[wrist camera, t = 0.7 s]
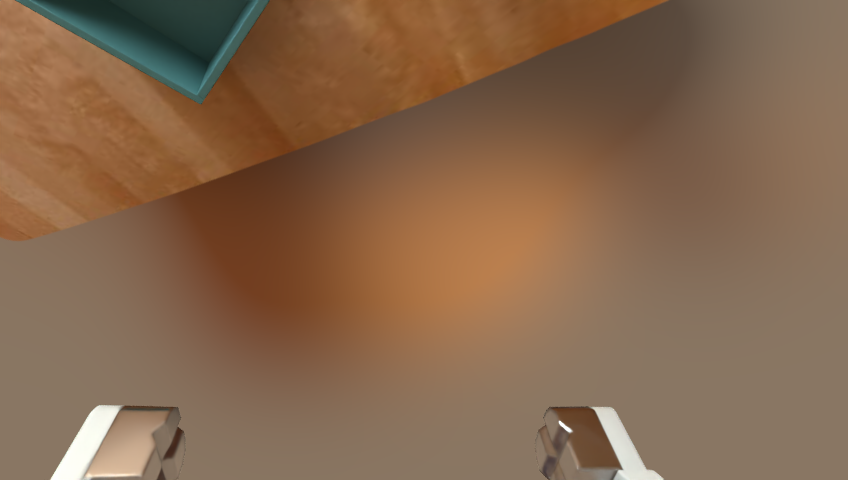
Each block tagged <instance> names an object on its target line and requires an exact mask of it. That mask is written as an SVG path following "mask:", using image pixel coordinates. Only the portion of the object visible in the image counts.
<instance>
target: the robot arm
mask: <svg viewBox="0 0 848 480" xmlns="http://www.w3.org/2000/svg"><path fill="white" fill-rule="evenodd" d="M543 418H544V421H545V424H546V425H545V426H543V427H542V428H541V429H539V431H538V434H537V437H536V446H535V447H536V448H535V452H536V458H537V462H538V466H539V469H540V472H541V473H542V474H543V475H544V476H545V477H546V478H547V479H548V480H664V479H663V478H662V477H661V476H660V475H658V474H657V473H656V472H655V471H653V470H647V469H646V468H645V466H644V464H643V462H642V460H641V458H640V456H639V454H638V452H637V451H636V449H635V447H634V445H633V443H632V441H631V439H630V437H629V436H628V434H627V432H626V430H625V428H624V426H623V424H622V422H621V421H620V419H619V417H618V415H617V413H616V411H615V410H613V408H612V407H549V408H548V409H547V410H546V412H545V415H544V417H543ZM180 419H181V416H180V412H179V408H178V407H153V406H109V405H107V406H106V405H105V406H104V405H100V406H99V405H98V406H97V407H96V408H95V409H94V410H93V411H92V412H91V413H90V414H89V416H88V418H87V419H86V421H85V422H84V424H83V426H82V428H81V430H80V431H79V433H78V434H77V436H76V438H75V439H74V441H73V443H72V444H71V446H70V448H69V449H68V451H67V453H66V454H65V456H64V458H63V460H62V461H61V463H60V465H59V466H58V468H57V470H56V471H55V473H54V475H53V476H52V478H51V480H176V479H177V478H178V477H179V474H180V471H181V468H182V465H183V460H184V455H185V434H184V431H183V430H181V429H180V428H179V427H178V424H179V421H180Z"/></svg>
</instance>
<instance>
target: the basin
mask: <svg viewBox="0 0 848 480" xmlns="http://www.w3.org/2000/svg"><path fill="white" fill-rule="evenodd" d="M16 1H17V2H19V3H21V4H23V5H24V6H26V7H28V8H30V9H32V10H33V11H35V12H37V13H39V14H40V15H42V16H44V17H46V18H48V19H49V20H51V21H53V22H55V23H56V24H58V25H60V26H62V27H64V28H65V29H67V30H69V31H71V32H72V33H74V34H76V35H78V36H80V37H81V38H83V39H85V40H87V41H88V42H90V43H92V44H94V45H96V46H97V47H99V48H101V49H103V50H105V51H106V52H108V53H110V54H112V55H113V56H115V57H117V58H119V59H121V60H122V61H124V62H126V63H128V64H129V65H131V66H133V67H135V68H137V69H138V70H140V71H142V72H144V73H145V74H147V75H149V76H151V77H153V78H154V79H156V80H158V81H160V82H161V83H163V84H165V85H167V86H169V87H170V88H172V89H174V90H176V91H178V92H179V93H181V94H183V95H185V96H186V97H188V98H190V99H192V100H194V101H195V102H197V103H199V104H202V102H203V101H204V99H205V98H206V96H207V95H208V93H209V92H210V90H211V89H212V87H213V86H214V84H215V83H216V81H217V80H218V78H219V77H220V75H221V74H222V72H223V71H224V69H225V68H226V66H227V65H228V63H229V62H230V60H231V58H232V57H233V55H234V54H235V52H236V51H237V49H238V48H239V46H240V45H241V43H242V42H243V40H244V39H245V37H246V36H247V34H248V33H249V31H250V30H251V28H252V27H253V25H254V24H255V22H256V21H257V19H258V18H259V16H260V15H261V13H262V11H263V10H264V8H265V7H266V5H267V4H268V2H269V1H270V0H16Z"/></svg>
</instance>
